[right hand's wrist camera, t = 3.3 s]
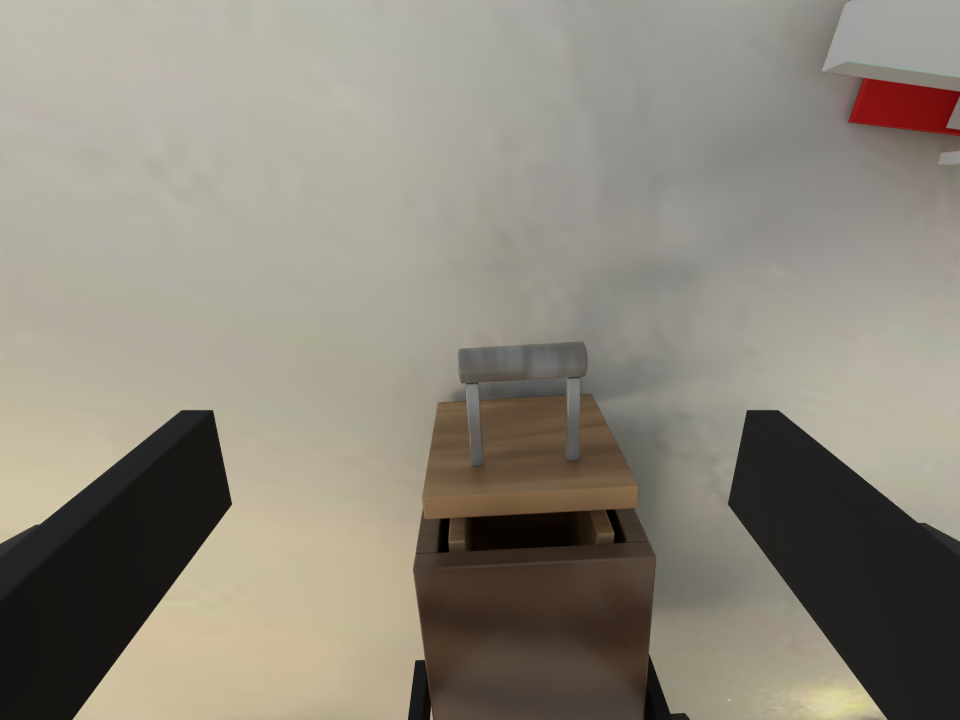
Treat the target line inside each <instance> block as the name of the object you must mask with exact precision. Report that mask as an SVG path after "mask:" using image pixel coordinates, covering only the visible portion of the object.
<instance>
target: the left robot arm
mask: <svg viewBox="0 0 960 720" xmlns="http://www.w3.org/2000/svg"><path fill="white" fill-rule="evenodd" d="M430 713H431V699H430V692H429V684H428V677H427V669H426V662H425V660H415V668H414V676H413V684H412V692H411V700H410V708H409V716H408V720H430ZM644 720H690V719H689V718H688V717H687V715H686V714H685V713H678V714H670V711H669V708H668V706H667V703H666V700H665V697H664V694H663V692H662V689H661V686H660V683H659V680H658V677H657V675H656V672H655V669H654V666H653V663H652V660H651V658H650V655H649V657H648V670H647V684H646V697H645V710H644Z"/></svg>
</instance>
